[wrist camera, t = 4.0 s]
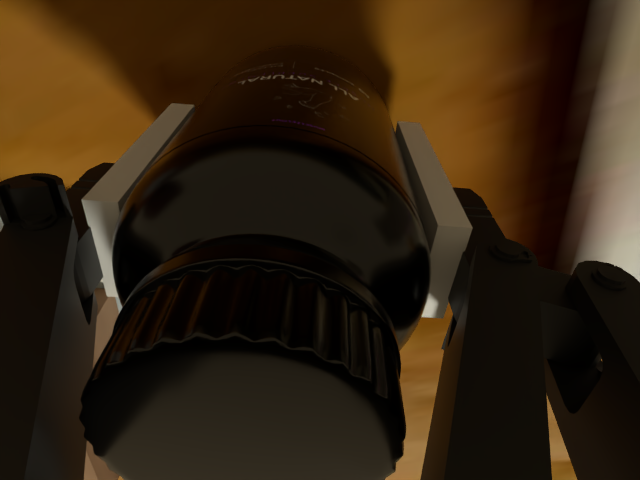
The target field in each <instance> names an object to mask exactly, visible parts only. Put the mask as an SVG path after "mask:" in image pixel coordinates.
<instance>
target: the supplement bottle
mask: <svg viewBox="0 0 640 480" xmlns="http://www.w3.org/2000/svg"><path fill="white" fill-rule="evenodd" d="M112 269H113V277H114V282H115V287H116V291H117V294H118V297H119V300H120V303H121V305H122V309H121V311H120V313H119V315H118V317H117V319H116V321H115V324H114V328H113V332H112V336H111V337H110V339H109V341H108V343H107V344H106V346H105V348H104V350H103V352H102V353H101V355H100V357H99V359H98V361H97V362H96V364H95V366H94V368H93V370H92V373H91V376H90V377H89V379H88V381H87V383H86V385H85V387H84V389H83V392H82V395H81V399H80V400H81V404H82V409H81V412H80V415H79V420H80V421H81V423H82V425H83V426H84V428H85V431H84V438H85V439H86V440H87V441H88V442H89V443H90V444H91V445H92V446H93V452H94V454H95V455H96V456H97V457H99V458H100V459H101V460H103V461H104V462H105V463H106V465H107V467H108V469H109V470H110V471H112V472H114V473H116V474H118V475H119V476H121V477H122V478H123V479H124V480H385V478H386V477H388V476H389V475H391V474H392V473H394V472H395V470H396V462H397V461H398V460H399V459H400V458H401V457H402V456H403V452H404V442H403V441H404V439H405V435H406V422H405V415H404V408H403V401H402V394H401V387H400V381H399V379H400V372H401V361H400V352H399V351H400V350H401V349H402V347H403V346H404V345H405V344H406V342H407V341H408V340H409V338H410V336H411V335H412V333H413V332H414V330H415V328H416V327H417V325H418V322H419V320H420V318H421V316H422V314H423V311H424V308H425V305H426V302H427V299H428V295H429V290H430V283H431V258H430V252H429V247H428V242H427V237H426V232H425V229H424V225H423V222H422V219H421V216H420V212H419V209H418V206H417V203H416V199H415V196H414V193H413V190H412V186H411V183H410V180H409V177H408V174H407V170H406V167H405V164H404V161H403V157H402V154H401V151H400V148H399V144H398V141H397V138H396V135H395V132H394V128H393V125H392V122H391V119H390V116H389V114H388V111H387V108H386V106H385V104H384V101H383V99H382V98H381V96H380V94H379V92H378V91H377V89H376V88H375V87H374V85H373V84H372V82H371V81H370V80H369V79H368V78H367V77H366V76H365V75H364V74H363V73H362V72H361V71H360V70H359V69H358V68H357V67H355V66H354V65H353V64H351V63H350V62H348V61H347V60H345V59H343V58H342V57H340V56H337V55H335V54H333V53H331V52H328V51H325V50H322V49H318V48H314V47H308V46H292V45H290V46H280V47H275V48H270V49H267V50H264V51H260V52H258V53H256V54H254V55H251V56H250V57H248V58H246V59H244V60H243V61H241V62H240V63H239V64H237V65H236V66H234V67H233V68H232V69H231V70H230V71H229V72H228V73H227V74H226V75H225V76H224V77H223V78H222V79H221V80H220V81H219V82H218V84H217V85H216V86H215V87H214V88H213V89H212V91H211V92H210V93H209V94H208V96H207V97H206V98H205V99H204V100H203V102H202V103H201V104H200V105H199V107H198V108H197V109H196V110H195V112H194V113H193V114H192V115H191V116H190V118H189V119H188V120H187V121H186V123H185V124H184V125H183V126H182V128H181V129H180V130H179V131H178V133H177V134H176V135H175V136H174V137H173V139H172V140H171V141H170V142H169V144H168V145H167V146H166V147H165V149H164V150H163V151H162V152H161V153H160V155H159V156H158V157H157V158H156V160H155V161H154V162H153V163H152V165H151V166H150V167H149V168H148V170H147V171H146V172H145V173H144V175H143V176H142V177H141V178H140V180H139V181H138V183H137V184H136V186H135V187H134V189H133V191H132V192H131V194H130V195H129V197H128V198H127V200H126V202H125V204H124V206H123V208H122V210H121V212H120V214H119V217H118V220H117V223H116V227H115V231H114V236H113V242H112Z"/></svg>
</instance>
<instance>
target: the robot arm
mask: <svg viewBox="0 0 640 480" xmlns="http://www.w3.org/2000/svg"><path fill="white" fill-rule="evenodd" d="M194 112H195V107H194V105H189V104H177V103H171V104H170V105H169V106H168V107H167V108H166V110H165V111H164V112H163V113H162V114H161V115H160V116H159V117H158V118H157V119H156V120H155V121H154V122H153V123H152V125H151V126H150V127H149V128H148V129H147V130H146V131H145V132H144V133H143V134H142V135H141V136H140V137H139V138H138V140H137V141H136V142H135V143H134V144H133V145H132V146H131V147H130V148H129V149H128V150H127V151H126V152H125V153H124V155H123V156H122V157H121V158H120V159H119V160H118V161H117V162H116V163H102V164H100V165H98V166H95V167H93V168H91V169H89V170H88V171H87V172H86V173H85V174H84V175H83V176H82V177H80V178H79V181H76V182H75V183H74V184H73V185H72V186H71V188H69V189H68V190H67V191H66V190H65V187H64V183H63V180H62V179H61V178H59V177H58V176H56V175H51V174H46V173H32V174H25V175H19V176H15V177H12V178H9V179H6V180H4V181H2V182H0V217H1V219H2V222H3V224H4V225H3V228H2V230H1V232H0V480H84V471H85V458H86V446H87V440H86V439H85V438H84V431H85V428H84V426H83V425H82V423H81V421H80V420H79V415H80V412H81V409H82V404H81V400H80V399H81V395H82V392H83V389H84V387H85V385H86V383H87V381H88V379H89V377H90V376H91V373H92V370H93V359H94V347H95V335H96V322H97V310H98V304H97V300H96V296H95V293H94V290H95V289H96V287H97V286H98V284H99V283H100V281H101V280H103V284H104V288H105V291H106V295H107V297H118V294H117V291H116V287H115V282H114V277H113V269H112V242H113V236H114V231H115V227H116V223H117V220H118V217H119V214H120V212H121V210H122V208H123V206H124V204H125V202H126V200H127V198H128V197H129V195H130V194H131V192H132V191H133V189H134V187H135V186H136V184H137V183H138V181H139V180H140V178H141V177H142V176H143V175H144V173H145V172H146V171H147V170H148V168H149V167H150V166H151V165H152V163H153V162H154V161H155V160H156V158H157V157H158V156H159V155H160V153H161V152H162V151H163V150H164V149H165V147H166V146H167V145H168V144H169V142H170V141H171V140H172V139H173V137H174V136H175V135H176V134H177V133H178V131H179V130H180V129H181V128H182V126H183V125H184V124H185V123H186V121H187V120H188V119H189V118H190V116H191V115H192V114H193V113H194ZM395 135H396V138H397V141H398V144H399V148H400V151H401V154H402V157H403V161H404V164H405V167H406V170H407V174H408V177H409V180H410V183H411V186H412V190H413V193H414V196H415V199H416V203H417V206H418V209H419V212H420V216H421V219H422V222H423V225H424V229H425V232H426V237H427V242H428V247H429V252H430V258H431V283H430V290H429V295H428V299H427V302H426V305H425V308H424V311H423V314H422V316H421V317H432V318H443V317H444V314H445V311H446V308H447V305H448V302H449V303H450V306H451V309H452V312H453V316H452V319H451V322H450V325H449V328H448V331H447V334H446V337H445V339H444V342H443V345H442V348H441V349H443V350H444V355H443V361H442V366H441V371H440V377H439V382H438V388H437V393H436V398H435V404H434V409H433V415H432V420H431V426H430V431H429V436H428V442H427V447H426V453H425V458H424V464H423V469H422V474H421V480H552V473H551V458H550V443H549V428H548V413H547V398H546V393H547V396H548V399H549V402H550V404H551V407H552V410H553V413H554V415H555V418H556V421H557V424H558V427H559V429H560V432H561V435H562V438H563V440H564V443H565V446H566V449H567V452H568V454H569V457H570V460H571V463H572V465H573V468H574V471H575V474H576V477H577V479H578V480H640V282H639V281H638V280H636V279H635V278H634V277H633V276H632V275H630V274H629V273H627V272H626V271H624V270H623V269H622V268H620V267H617V266H614V265H612V264H609V263H603V262H599V261H584V262H581V263H578V265H577V267H576V268H575V270H574V272H573V274H572V275H568V274H564V273H560V272H556V271H553V270H549V269H545V268H542V267H539V266H538V262H537V259H536V257H535V255H534V254H533V253H532V252H531V251H530V250H529V249H528V248H526V247H525V246H523V245H521V244H519V243H517V242H515V241H512V240H509V239H506V238H505V236H504V235H503V233H502V231H501V230H500V228H499V226H498V225H497V223H496V221H495V219H494V218H492V214H491V213H490V211H489V210H487V206H486V204H485V203H484V201H483V199H482V198H481V197H480V196H478V195H477V194H476V193H474V192H473V191H472V190H470V189H465V188H452V186H451V184H450V182H449V180H448V178H447V176H446V174H445V172H444V170H443V168H442V166H441V164H440V162H439V160H438V158H437V156H436V154H435V152H434V150H433V148H432V146H431V144H430V142H429V140H428V138H427V136H426V134H425V132H424V130H423V129H422V127H421V125H420V123H413V122H401V121H398V122H397V128H396V133H395ZM601 359H602V361H601Z"/></svg>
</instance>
